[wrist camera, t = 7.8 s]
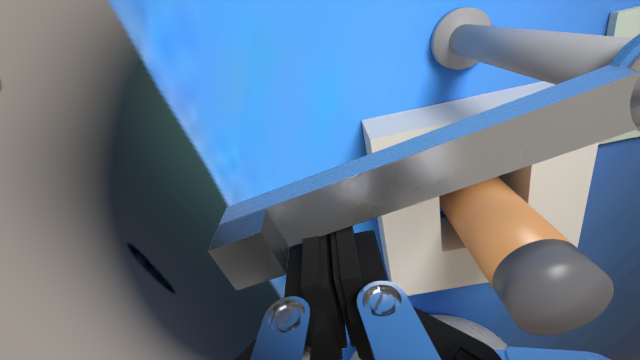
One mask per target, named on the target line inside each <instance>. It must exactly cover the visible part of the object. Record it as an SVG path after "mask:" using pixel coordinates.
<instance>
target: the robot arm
mask: <svg viewBox="0 0 640 360" xmlns="http://www.w3.org/2000/svg"><path fill="white" fill-rule="evenodd" d="M345 324H346V327H347V331H348V335H349V338H350V342H351V345H352V347H353V346H356V349H357V353H358V357H359V358H360V359H361V360H610V359H608V358H606V357H604V356H602V355H600V354H596V353H591V352H585V351H570V350H554V349H539V348H523V347H508V346H505V350H494V349H493V348H491V347H490V346H488V345H487V344H485V343H484V342H482V341H480V340H478V339H476V338H474V337H472V336H470V335H468V334H466V333H464V332H462V331H460V330H458V329H456V328H454V327H452V326H450V325H448V324H446V323H444V322H442V321H441V320H439V319H437V318H435V317H433V316H431V315H429V314H427V313H425V312H423V311H421V310H419V309H417V308H415V307H413V306H412V304H411V302H410V301H409V299H408V297H407V295H406V293H405V292H404V290H403V289H402V288H401V287H400V286H398V285H397V284H395V283H392V282H389V281H387V277H386V273H385V270H384V266H383V262H382V259H381V255H380V251H379V248H378V244H377V240H376V237H375V233H374V230H370V231H365V232H359V233H354V231H353V226H350V227H347V228H344V229H341V230H338V231H335V232H332V233H329V234H326V235H323V236H320V237H319V236H314V237H309V238H304V239H303V243H301V244H297V245H294V246H291V247H290V248H289V256H288V266H287V276H286V286H285V296H284V298H282V299H280V300H278V301H276V302H275V303H274V304H272V305H271V306H270V308H269V309H268V310H267V311H266V313H265V315H264V318H263V321H262V324H261V327H260V330H259V333H258V336H257V339H256V340H255V341H254V342H253V343H252V344H251V345H250V346H249V347H247V348H246V349H245V350H244V352H242V353H241V354H240V355H239V356H238V357H237V358H236V359H235V360H340V359H342V348H347V339H346V329H345Z"/></svg>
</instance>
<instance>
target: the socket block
mask: <svg viewBox="0 0 640 360" xmlns="http://www.w3.org/2000/svg"><path fill="white" fill-rule="evenodd" d="M632 39H633V38H625V37H613V36H601V35H590V34H578V33H566V32H554V31H543V30H531V29H519V28H507V27H496V26H492V24H491V21H490V19H489V17H488V16H487V15H486V14H485V13H484V12H483V11H481V10H479V9H477V8H471V7H469V8H457V9H454V10H452V11H450V12H448V13H447V14H445V15H444V16H443V17H442V18H441V19H440V20H439V21H438V23H437V24H436V26H435V28H434V30H433V32H432V36H431V51H432V54H433V56H434V58H435V60H436V61H437V62H438V63H439V64H441V65H443V66H445V67H447V68H449V69H453V70H462V69H466V68H469V67H471V66H473V65H475V64H476V63H477V62H483V63H486V64H489V65H492V66H496V67H499V68H502V69H506V70H509V71H512V72H515V73H519V74H522V75H525V76H529V77H532V78H535V79H539V80H542V82H537V83H532V84H528V85H523V86H518V87H514V88H509V89H504V90H500V91H495V92H490V93H486V94H481V95H476V96H472V97H467V98H462V99H458V100H453V101H448V102H444V103H439V104H435V105H430V106H425V107H421V108H416V109H411V110H407V111H402V112H397V113H393V114H388V115H383V116H379V117H374V118H369V119H365V120H361V121H362V127H363V133H364V139H365V146H366V152H367V155H369V154H371V153H374V152H377V151H379V150H382V149H385V148H387V147H390V146H393V145H396V144H398V143H401V142H404V141H406V140H409V139H412V138H414V137H417V136H420V135H422V134H425V133H428V132H430V131H433V130H436V129H438V128H441V127H444V126H447V125H449V124H452V123H455V122H457V121H460V120H463V119H465V118H468V117H471V116H473V115H476V114H479V113H481V112H484V111H487V110H490V109H492V108H495V107H498V106H500V105H503V104H506V103H508V102H511V101H514V100H516V99H519V98H522V97H524V96H527V95H530V94H532V93H535V92H538V91H541V90H543V89H546V88H549V87H551V86H554V85H557V84H559V83H562V82H565V81H567V80H570V79H573V78H575V77H578V76H581V75H584V74H586V73H589V72H592V71H594V70H597V69H600V68H602V67H605V66H608V65H609V64H610V63H611V61H612V60H613V59H614V57H615V56H616V55H617V54H618V52H619V51H620V50H621V49H622V48H623V47H624V46H625V45H626V44H627V43H628V42H629V41H631V40H632ZM598 144H599V142H598V143H595V144H592V145H589V146H586V147H583V148H580V149H577V150H574V151H571V152H569V153H566V154H563V155H560V156H557V157H554V158H551V159H548V160H545V161H542V162H539V163H536V164H533V165H530V166H527V167H524V168H521V169H518V170H515V171H512V172H509V173H506V174H503V175H501V176H498V177H499V178H500V179H501V180H502V181H503V182H504V183H505V184H506V185H508V186H509V187H510V188H511V189H512V190H513V191H514V192H515V193H516V194H518V195H519V196H520V197H521V198H522V199H523V200H524V201H525V202H527V203H528V204H529V205H530V206H531V207H532V208H533V209H534V210H535V211H537V212H538V213H539V214H540V215H541V216H542V217H543V218H544V219H545V220H547V221H548V222H549V223H550V224H551V225H552V226H553V227H554V228H556V229H557V230H558V231H559V232H560V233H561V234H562V235H563V236H564V237H566V238H567V239H568V240H569V241H570V242H571V243H572V244H573V245H574V246H576V247H577V248H578V243H579V238H580V233H581V228H582V223H583V218H584V213H585V208H586V203H587V198H588V193H589V188H590V183H591V178H592V173H593V168H594V164H595V159H596V154H597V149H598ZM377 220H378V226H379V232H380V238H381V245H382V251H383V257H384V263H385V267H386V271H387V274H388V278H389V281H390V282H392V283H395V284H397V285H398V286H400V287H401V288H402V289H403V290H404V292H405V293H406V295H407V296H409V295H415V294H421V293H427V292H433V291H439V290H445V289H451V288H457V287H463V286H469V285H475V284H481V283H487V282H488V280H487V279H486V277H485V276H484V274H483V272H482V271H481V269H480V268H479V266H478V265H477V263H476V262H475V260H474V259H473V257H472V255H471V254H470V252H469V251H468V249H467V248H466V246H465V245H464V243H463V242H462V240H461V239H460V237H459V235H458V234H457V232H456V231H455V229H454V228H453V226H452V225H451V223H450V222H449V220H448V218H447V217H444V218H440V203H439V196H438V197H436V198H433V199H430V200H427V201H424V202H421V203H418V204H415V205H412V206H409V207H406V208H403V209H400V210H397V211H394V212H391V213H388V214H385V215H382V216H379V217H377Z"/></svg>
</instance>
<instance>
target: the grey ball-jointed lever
mask: <svg viewBox="0 0 640 360" xmlns="http://www.w3.org/2000/svg"><path fill="white" fill-rule="evenodd" d="M634 130H638V131H640V34H639V35H637V36H636V37H634V38H633V39H632V40H631V41H629V42H628V43H627V44H626V45H625V46H624V47H623V48H622V49H621V50H620V51H619V52H618V54H617V55H616V56H615V57H614V59H613V60H612V61H611V63H610V64H609V65H608V66H605V67H602V68H600V69H597V70H594V71H592V72H589V73H586V74H584V75H581V76H578V77H575V78H573V79H570V80H567V81H565V82H562V83H559V84H557V85H554V86H551V87H549V88H546V89H543V90H541V91H538V92H535V93H532V94H530V95H527V96H524V97H522V98H519V99H516V100H514V101H511V102H508V103H506V104H503V105H500V106H498V107H495V108H492V109H490V110H487V111H484V112H481V113H479V114H476V115H473V116H471V117H468V118H465V119H463V120H460V121H457V122H455V123H452V124H449V125H447V126H444V127H441V128H438V129H436V130H433V131H430V132H428V133H425V134H422V135H420V136H417V137H414V138H412V139H409V140H406V141H404V142H401V143H398V144H396V145H393V146H390V147H387V148H385V149H382V150H379V151H377V152H374V153H371V154H369V155H366V156H363V157H361V158H358V159H355V160H353V161H350V162H347V163H345V164H342V165H339V166H336V167H334V168H331V169H328V170H326V171H323V172H320V173H318V174H315V175H312V176H310V177H307V178H304V179H302V180H299V181H296V182H293V183H291V184H288V185H285V186H283V187H280V188H277V189H275V190H272V191H269V192H267V193H264V194H261V195H259V196H256V197H253V198H251V199H248V200H245V201H242V202H240V203H237V204H234V205H232V206H229V207H227V208H226V211H225V213H224V215H223V217H222V220H221V222H220V224H219V226H218V229H217V231H216V233H215V236H214V238H213V240H212V243H211V245H210V247H209V249H208V252H209V254H210V255H211V256H212V258H213V259H214V260H215V262H216V263H217V265H218V266H219V267H220V269H221V270H222V271H223V273H224V274H225V275H226V277H227V278H228V279H229V281H230V282H231V284H232V285H233V286H234V288H235V289H236V290H240V289H243V288H246V287H249V286H252V285H255V284H258V283H261V282H264V281H268V280H271V279H274V278H277V277H280V276H283V275H286V273H287V263H288V253H289V247H291V246H294V245H297V244H300V243H302V242H303V239H304V238H309V237H314V236H319V237H320V236H323V235H326V234H329V233H332V232H335V231H338V230H341V229H344V228H347V227H350V226H353V225H356V224H359V223H362V222H365V221H368V220H370V219H373V218H376V217H379V216H382V215H385V214H388V213H391V212H394V211H397V210H400V209H403V208H406V207H409V206H412V205H415V204H418V203H421V202H424V201H427V200H430V199H433V198H436V197H438V196H441V195H444V194H447V193H450V192H453V191H456V190H459V189H462V188H465V187H468V186H471V185H474V184H477V183H480V182H483V181H486V180H489V179H492V178H495V177H498V176H501V175H503V174H506V173H509V172H512V171H515V170H518V169H521V168H524V167H527V166H530V165H533V164H536V163H539V162H542V161H545V160H548V159H551V158H554V157H557V156H560V155H563V154H566V153H569V152H571V151H574V150H577V149H580V148H583V147H586V146H589V145H592V144H595V143H598V142H601V141H604V140H607V139H610V138H613V137H616V136H619V135H622V134H625V133H628V132H631V131H634Z"/></svg>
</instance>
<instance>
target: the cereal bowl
mask: <svg viewBox="0 0 640 360" xmlns="http://www.w3.org/2000/svg"><path fill="white" fill-rule="evenodd" d="M430 315H431V314H430ZM431 316H433V317H435V318H437V319H439V320H441V321H442V322H444V323H446V324H448V325H450V326H452V327H454V328H456V329H458V330H460V331H462V332H464V333H466V334H468V335H470V336H472V337H474V338H476V339H478V340H480V341H482V342H484V343H485V344H487V345H488V346H490V347H491V348H493V349H494V350H505V346H507V345H506V343H504V342H503V341H502V340H501V339H500V338H499V337H498V336H496V335H495V334H494V333H493V332H491V331H489V330H488V329H487V328H485V327H483V326H481V325H480V324H477V323H475V322H473V321H469V320H467V319H464V318H460V317H455V316H451V315H439V314H438V315H437V314H433V315H431ZM350 360H361V359H360V358H359V357H358V353H357V350H356V351H355V353H354V354H353V356H352V357H351V359H350Z"/></svg>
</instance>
